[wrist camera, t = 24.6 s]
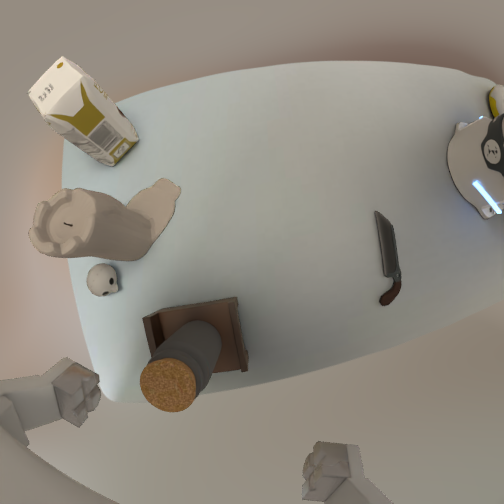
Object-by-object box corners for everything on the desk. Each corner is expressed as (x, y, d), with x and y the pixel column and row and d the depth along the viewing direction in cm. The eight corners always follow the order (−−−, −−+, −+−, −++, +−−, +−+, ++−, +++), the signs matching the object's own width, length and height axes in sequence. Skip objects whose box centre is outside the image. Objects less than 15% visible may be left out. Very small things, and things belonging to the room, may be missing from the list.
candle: (191, 195, 41) (142, 140, 21) (133, 271, 41) (49, 273, 21) (156, 168, 42) (94, 104, 22) (101, 240, 41) (12, 224, 21)
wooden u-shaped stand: (236, 296, 41) (232, 303, 33) (248, 357, 40) (247, 377, 32) (161, 308, 41) (142, 317, 33) (175, 367, 40) (159, 387, 32)
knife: (402, 301, 40) (404, 301, 40) (379, 306, 40) (381, 306, 40) (389, 209, 41) (391, 208, 40) (366, 212, 41) (368, 211, 40)
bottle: (176, 319, 36) (129, 350, 21) (221, 320, 36) (201, 356, 21) (178, 362, 36) (137, 413, 21) (222, 364, 36) (204, 421, 21)
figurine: (116, 303, 41) (100, 307, 36) (92, 284, 41) (75, 286, 36) (130, 275, 41) (115, 276, 36) (105, 257, 41) (89, 256, 36)
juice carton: (112, 174, 42) (41, 126, 23) (87, 144, 42) (20, 94, 23) (146, 139, 42) (91, 73, 23) (118, 112, 42) (63, 49, 23)
